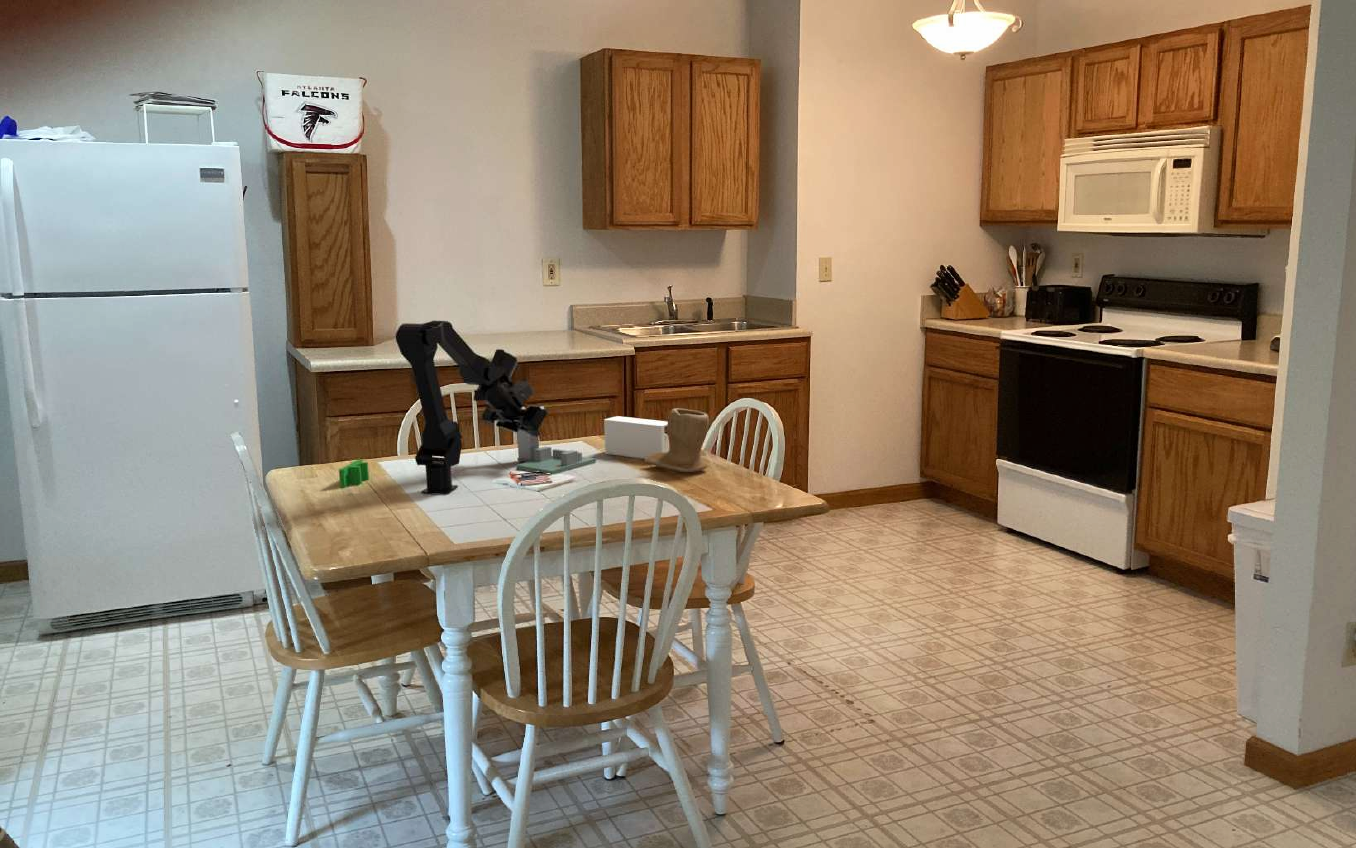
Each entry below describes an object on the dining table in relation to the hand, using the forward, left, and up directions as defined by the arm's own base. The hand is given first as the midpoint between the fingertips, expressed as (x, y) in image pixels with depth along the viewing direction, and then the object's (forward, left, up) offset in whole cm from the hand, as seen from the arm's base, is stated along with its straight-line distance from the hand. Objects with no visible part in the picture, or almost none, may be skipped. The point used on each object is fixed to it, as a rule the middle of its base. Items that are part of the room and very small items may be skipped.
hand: (531, 434), depth 280 cm
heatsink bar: (-1, +1, -7) cm, 7 cm away
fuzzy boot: (-7, -40, -7) cm, 41 cm away
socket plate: (-6, -8, -7) cm, 12 cm away
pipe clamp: (-26, +36, -7) cm, 45 cm away
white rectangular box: (+7, -26, -7) cm, 28 cm away
